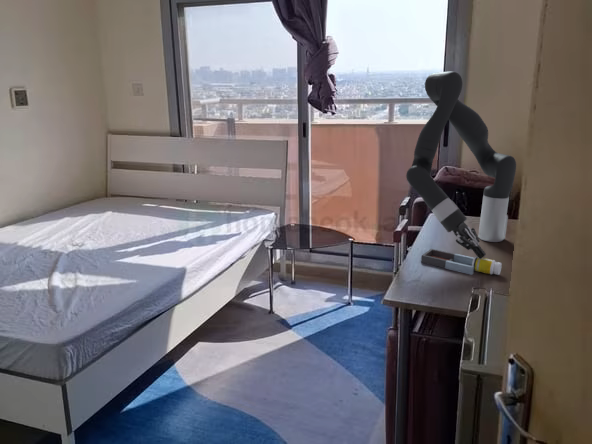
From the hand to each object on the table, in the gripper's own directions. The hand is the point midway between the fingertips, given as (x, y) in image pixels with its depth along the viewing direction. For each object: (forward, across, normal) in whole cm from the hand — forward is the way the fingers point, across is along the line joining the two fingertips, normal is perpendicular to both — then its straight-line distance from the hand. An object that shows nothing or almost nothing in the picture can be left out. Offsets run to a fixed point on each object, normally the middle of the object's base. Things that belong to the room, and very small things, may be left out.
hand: (483, 256), depth 166 cm
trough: (-1, 0, +8) cm, 9 cm away
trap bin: (-7, 0, +14) cm, 16 cm away
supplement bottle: (0, 0, +4) cm, 4 cm away
